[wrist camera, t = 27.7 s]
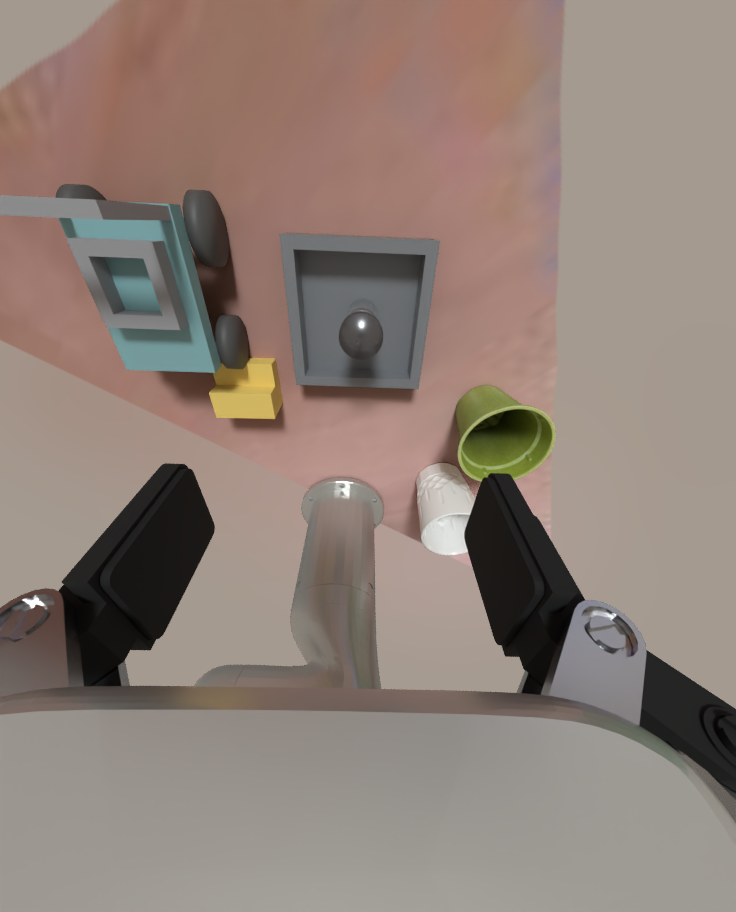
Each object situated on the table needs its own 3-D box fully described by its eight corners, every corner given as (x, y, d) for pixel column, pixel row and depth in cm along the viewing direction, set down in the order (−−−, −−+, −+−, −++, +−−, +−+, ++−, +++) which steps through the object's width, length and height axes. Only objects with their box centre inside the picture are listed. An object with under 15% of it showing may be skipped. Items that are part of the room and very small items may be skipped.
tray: (415, 377, 35) (418, 388, 33) (301, 373, 35) (296, 384, 33) (433, 239, 27) (439, 240, 25) (287, 232, 27) (279, 233, 25)
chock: (283, 402, 38) (275, 418, 34) (229, 401, 37) (216, 417, 34) (275, 357, 34) (266, 371, 31) (217, 356, 34) (201, 369, 31)
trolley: (251, 359, 34) (197, 421, 23) (156, 355, 34) (57, 417, 23) (219, 193, 26) (111, 171, 15) (92, 187, 25) (-111, 160, 15)
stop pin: (379, 335, 32) (381, 360, 26) (345, 333, 32) (339, 358, 26) (382, 296, 30) (384, 314, 24) (344, 294, 30) (338, 312, 24)
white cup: (423, 453, 42) (436, 507, 34) (476, 465, 43) (500, 520, 35) (404, 493, 46) (411, 550, 39) (452, 503, 48) (469, 559, 40)
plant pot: (443, 374, 35) (462, 411, 28) (528, 366, 35) (568, 402, 28) (439, 441, 41) (454, 486, 34) (512, 436, 40) (542, 480, 33)
